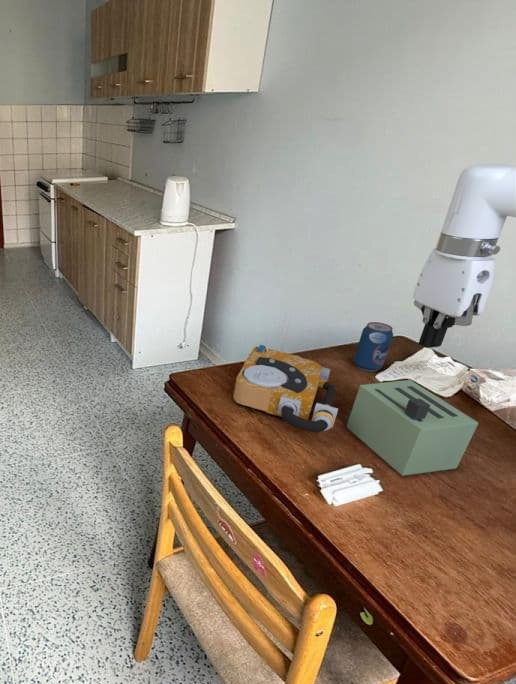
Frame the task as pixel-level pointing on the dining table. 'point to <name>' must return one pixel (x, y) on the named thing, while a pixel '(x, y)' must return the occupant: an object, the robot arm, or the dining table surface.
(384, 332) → the soda can
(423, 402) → the slider
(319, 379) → the device
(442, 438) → the toaster
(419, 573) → the dining table surface
